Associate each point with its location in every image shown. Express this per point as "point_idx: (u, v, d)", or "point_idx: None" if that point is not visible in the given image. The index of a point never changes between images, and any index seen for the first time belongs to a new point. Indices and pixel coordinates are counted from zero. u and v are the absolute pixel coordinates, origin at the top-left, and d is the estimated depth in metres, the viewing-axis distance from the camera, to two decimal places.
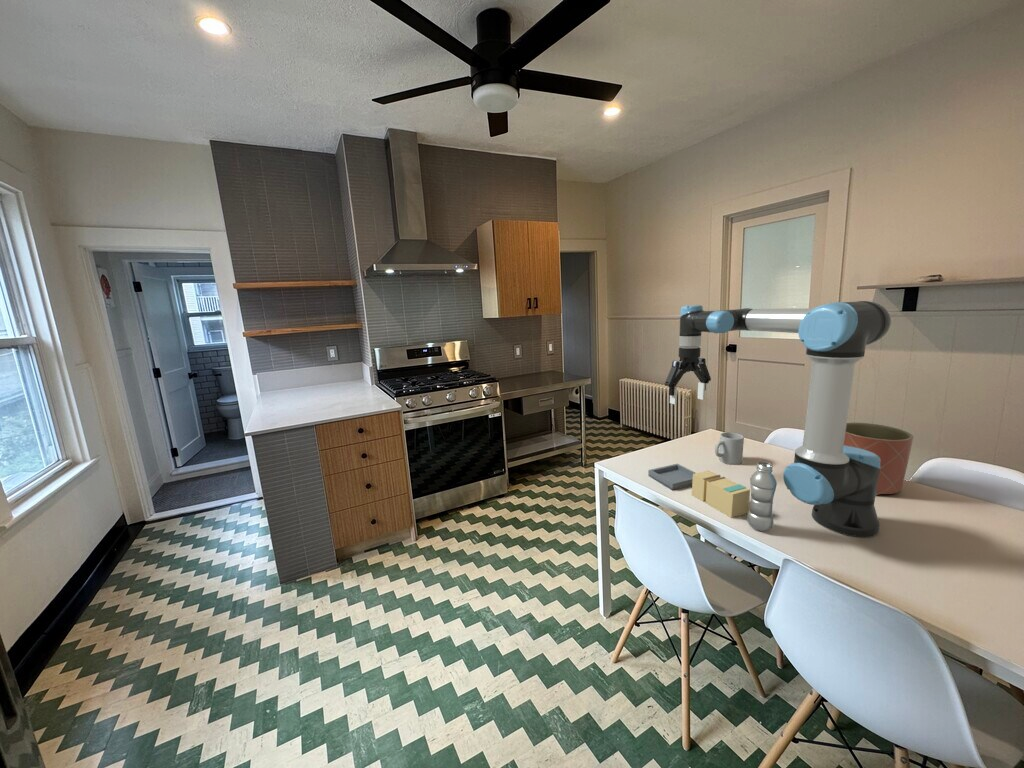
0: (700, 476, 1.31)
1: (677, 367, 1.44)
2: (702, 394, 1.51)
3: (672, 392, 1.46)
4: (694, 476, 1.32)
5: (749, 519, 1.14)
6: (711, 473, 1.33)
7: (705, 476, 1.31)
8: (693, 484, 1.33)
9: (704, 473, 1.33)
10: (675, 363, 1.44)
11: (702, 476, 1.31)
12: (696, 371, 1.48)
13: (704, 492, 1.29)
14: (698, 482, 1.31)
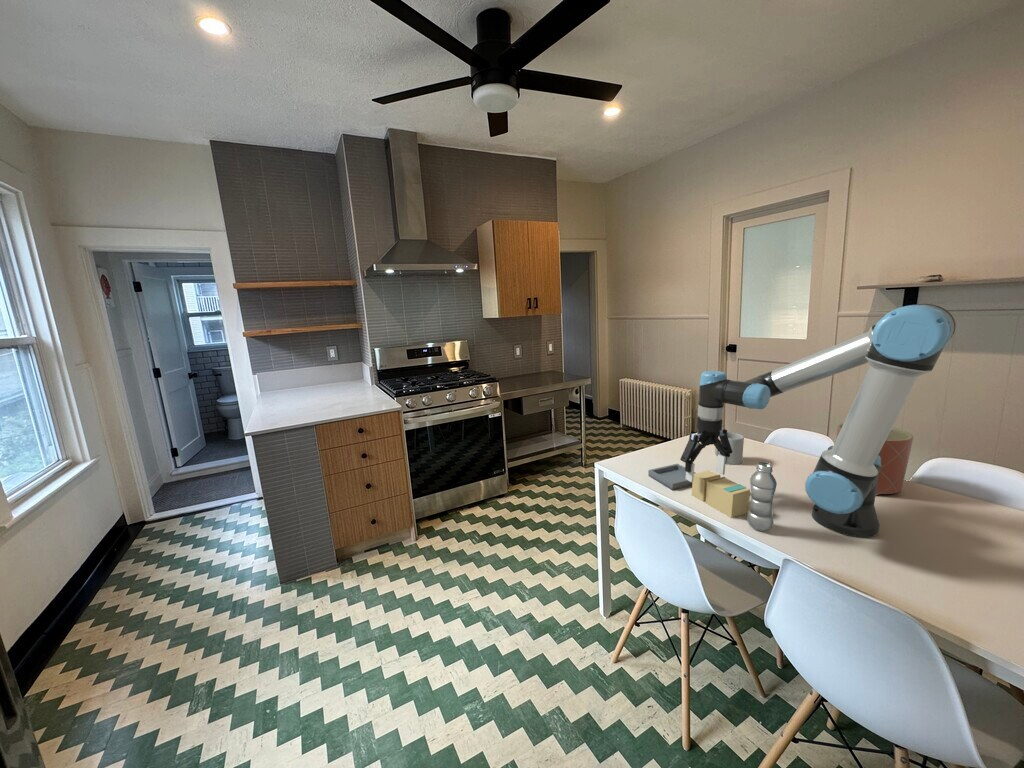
0: (700, 476, 1.31)
1: (695, 441, 1.26)
2: (722, 468, 1.33)
3: (689, 469, 1.28)
4: (694, 476, 1.32)
5: (749, 519, 1.14)
6: (711, 473, 1.33)
7: (705, 476, 1.31)
8: (693, 484, 1.33)
9: (704, 473, 1.33)
10: (693, 437, 1.26)
11: (702, 476, 1.31)
12: (716, 444, 1.30)
13: (704, 492, 1.29)
14: (698, 482, 1.31)
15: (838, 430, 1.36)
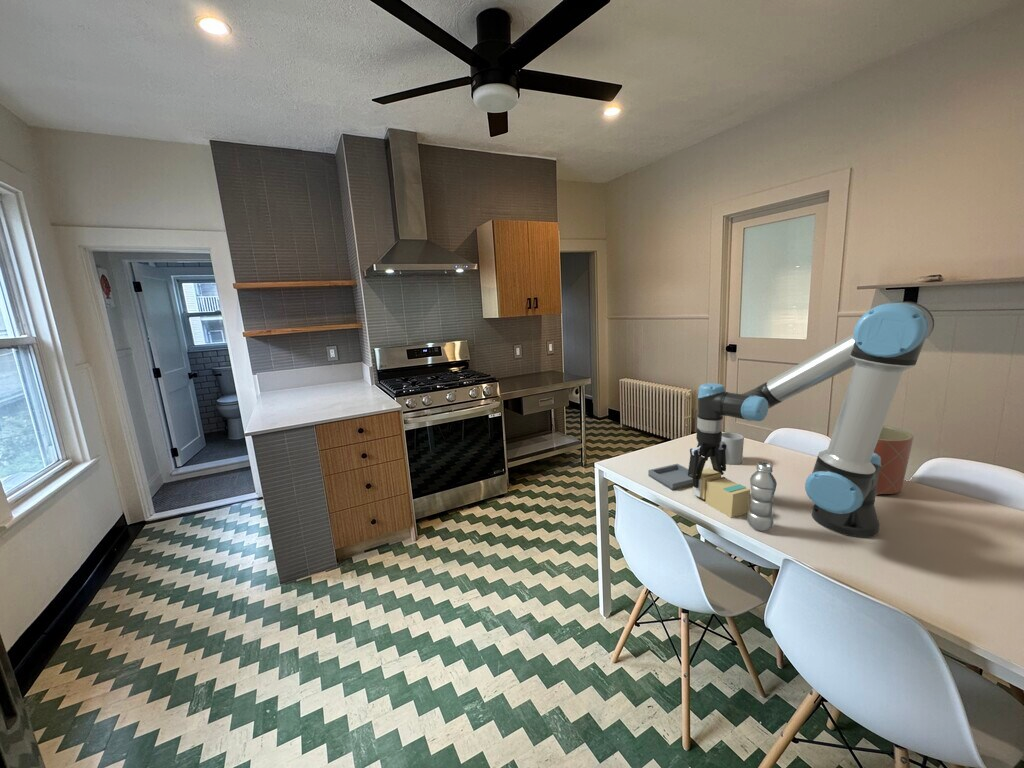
0: (701, 474, 1.30)
1: (697, 457, 1.27)
2: None
3: (696, 484, 1.30)
4: None
5: (749, 519, 1.14)
6: (712, 471, 1.32)
7: (706, 474, 1.30)
8: None
9: (705, 471, 1.33)
10: (693, 453, 1.27)
11: (703, 474, 1.30)
12: (713, 457, 1.31)
13: (705, 490, 1.29)
14: None
15: None
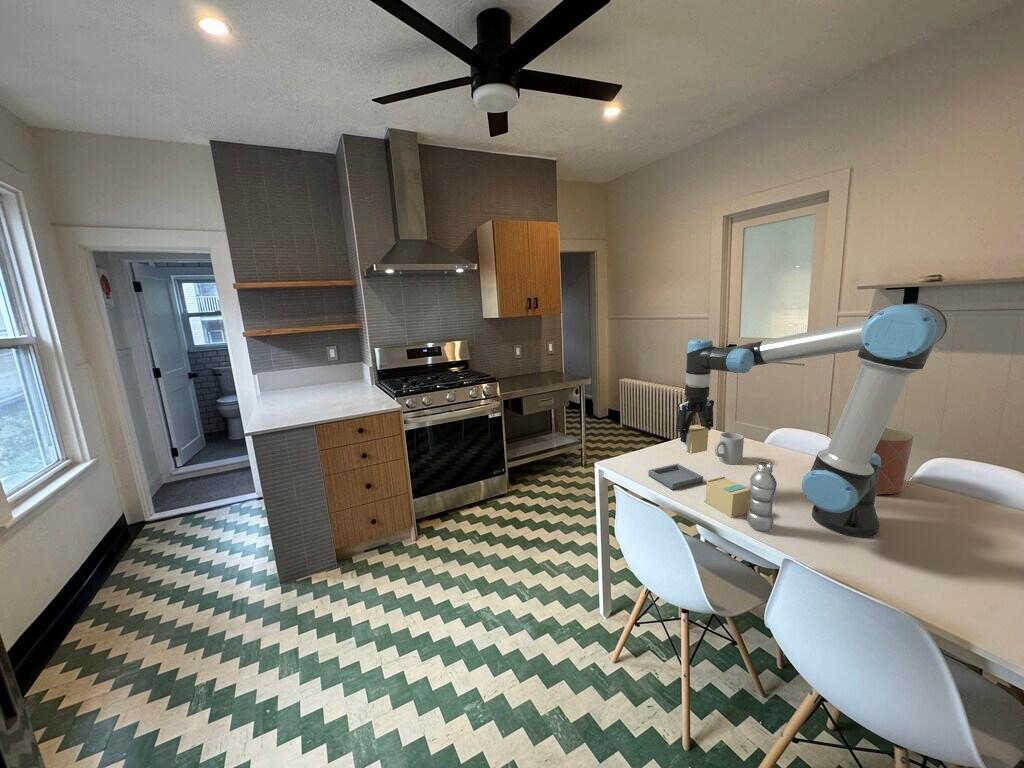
0: None
1: (685, 411, 1.30)
2: None
3: (684, 439, 1.33)
4: None
5: (749, 519, 1.14)
6: (699, 427, 1.35)
7: (693, 429, 1.33)
8: None
9: (693, 427, 1.35)
10: (681, 407, 1.30)
11: (691, 429, 1.33)
12: (701, 413, 1.33)
13: (692, 444, 1.32)
14: None
15: None
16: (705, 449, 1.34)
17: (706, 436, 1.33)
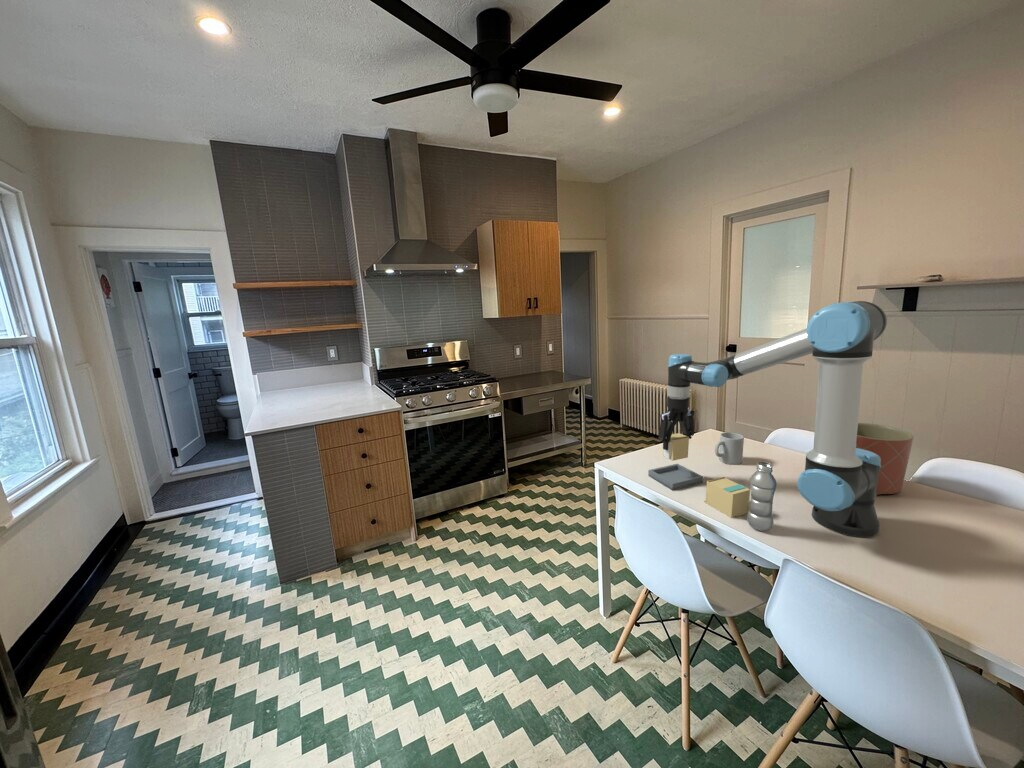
0: None
1: (666, 421, 1.39)
2: None
3: (666, 446, 1.42)
4: None
5: (749, 519, 1.14)
6: (681, 435, 1.44)
7: (675, 437, 1.42)
8: None
9: (674, 435, 1.45)
10: (663, 417, 1.39)
11: (672, 437, 1.42)
12: (682, 422, 1.42)
13: (674, 452, 1.41)
14: None
15: None
16: (685, 456, 1.43)
17: (687, 443, 1.42)
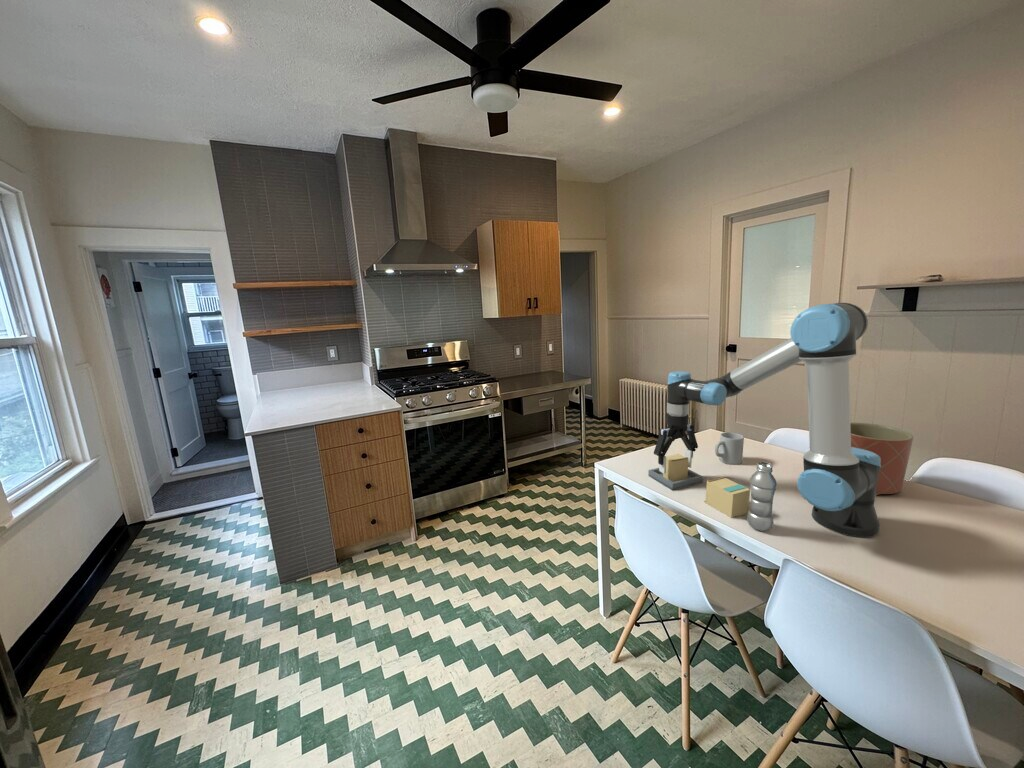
0: (670, 459, 1.44)
1: (665, 436, 1.40)
2: (689, 462, 1.46)
3: (661, 461, 1.42)
4: None
5: (749, 519, 1.14)
6: (680, 456, 1.46)
7: (674, 458, 1.44)
8: None
9: (674, 456, 1.46)
10: (662, 432, 1.40)
11: (672, 458, 1.44)
12: (683, 438, 1.44)
13: (673, 473, 1.43)
14: (668, 464, 1.44)
15: None
16: (685, 477, 1.45)
17: (686, 465, 1.44)
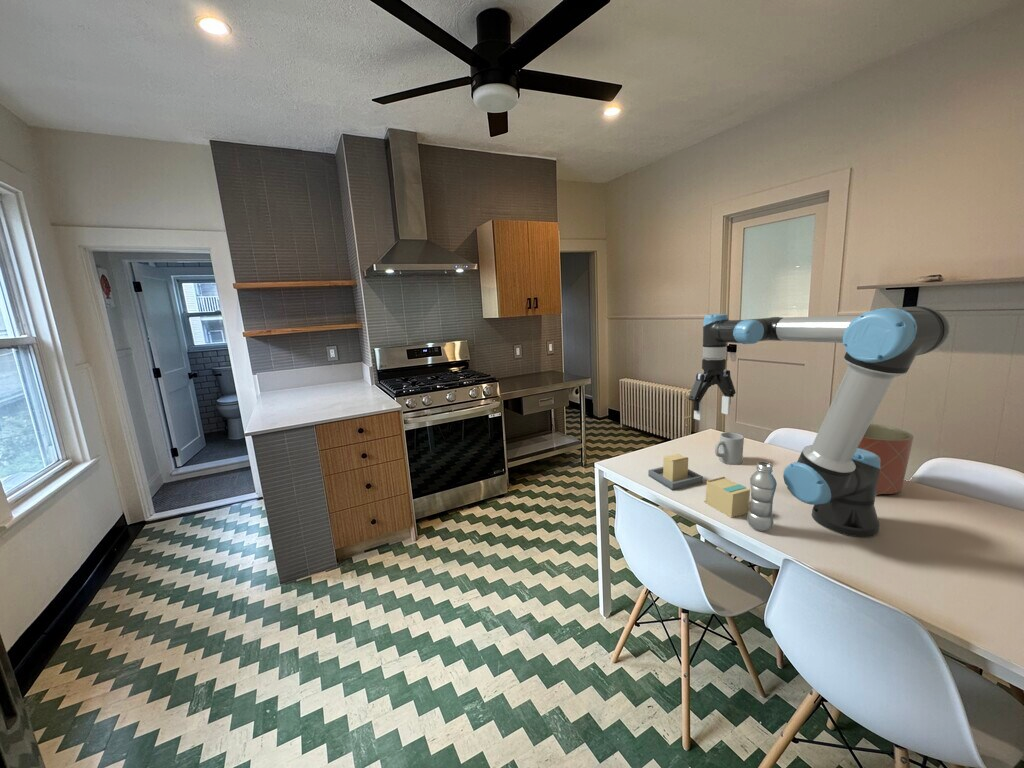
0: (670, 459, 1.44)
1: (702, 380, 1.34)
2: (727, 408, 1.41)
3: (697, 407, 1.36)
4: (665, 459, 1.46)
5: (749, 519, 1.14)
6: (680, 456, 1.46)
7: (674, 458, 1.44)
8: (664, 466, 1.46)
9: (674, 456, 1.46)
10: (700, 376, 1.34)
11: (672, 458, 1.44)
12: (721, 384, 1.39)
13: (673, 473, 1.43)
14: (668, 464, 1.44)
15: None
16: (685, 477, 1.45)
17: (686, 465, 1.44)
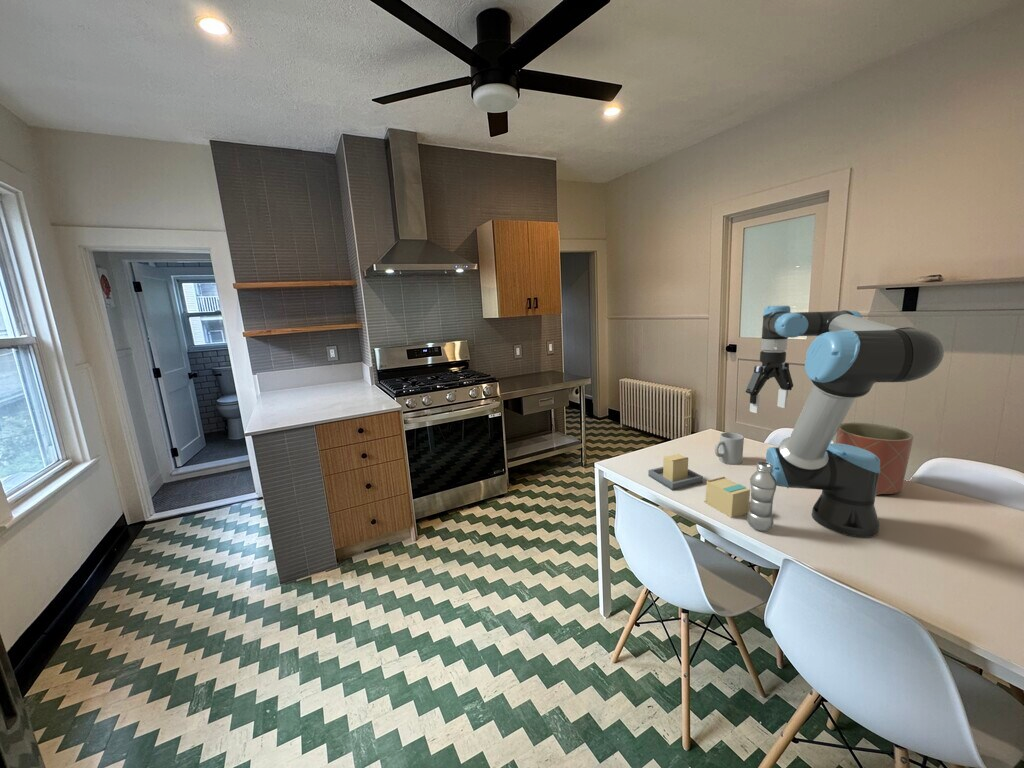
0: (670, 459, 1.44)
1: (761, 373, 1.32)
2: (784, 402, 1.39)
3: (754, 400, 1.34)
4: (665, 459, 1.46)
5: (749, 519, 1.14)
6: (680, 456, 1.46)
7: (674, 458, 1.44)
8: (664, 466, 1.46)
9: (674, 456, 1.46)
10: (758, 368, 1.33)
11: (672, 458, 1.44)
12: (779, 377, 1.37)
13: (673, 473, 1.43)
14: (668, 464, 1.44)
15: (838, 430, 1.36)
16: (685, 477, 1.45)
17: (686, 465, 1.44)
